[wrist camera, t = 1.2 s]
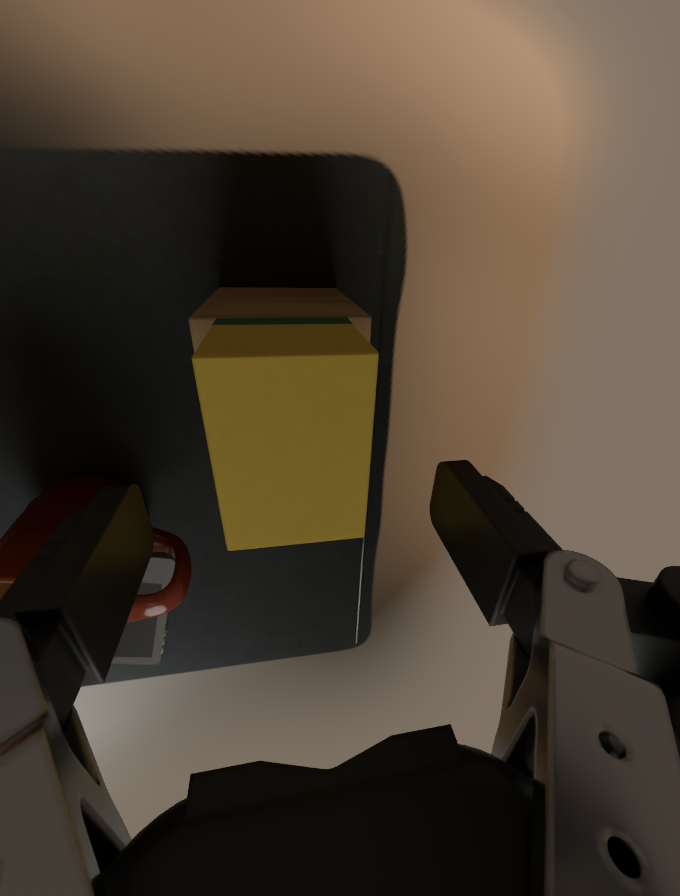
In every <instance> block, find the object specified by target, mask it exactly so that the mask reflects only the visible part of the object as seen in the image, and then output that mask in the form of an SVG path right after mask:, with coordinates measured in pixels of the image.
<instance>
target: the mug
mask: <svg viewBox="0 0 680 896" xmlns="http://www.w3.org/2000/svg"><path fill="white" fill-rule="evenodd" d="M121 484H123V483H121V482H118V481H116V480H113V479H110V478H106V477H102V476H95V475H80V476H73V477H69V478H66V479H63V480H61V481H59V482H57V483H55V484H54V485H53V486H51V487H49V488H48V489H46V490H45V491H43V492H42V493H41V494H40V495H39V496H37V497H36V498H35V499H33V500H32V501H31V502H30V503H29V504H28V506H27V507H26V509H25V510H24V512H23V513H22V514H21V515H20V516H19V517H18V518H17V519H16V521H15V522H14V523H13V524H12V525H11V526H10V528H9V529H8V530H7V531H6V533H5V534H4V535H3V537H2V538H1V539H0V600H1V598H2V597H3V596H4V594H5V593H6V592H7V590H8V589H9V588H10V586H11V585H12V584H13V582H14V581H15V580H16V578H17V577H18V576H19V574H20V573H21V571H22V570H23V569H24V567H25V566H26V565H27V563H28V562H29V561H30V560H32V559H33V555H34V554H35V553H36V551H37V550H38V549H39V547H40V546H41V545H42V544H44V541H45V539H46V538H47V536H48V535H49V534H50V532H51V531H52V530H53V528H54V527H55V526H56V524H57V523H58V522H60V521H61V520H62V519H64V518H65V517H66V516H68V515H69V514H70V513H72V512H73V511H74V510H76V509H77V508H85V507H86V506H87V504H88V503H89V501H90V500H91V498H92V497H93V496H94V494H95V493H96V491H97V490H98V488H99V487H101V486H108V485H121ZM144 503H145V502H144ZM145 506H146V504H145ZM146 509H147V506H146ZM147 512H148V509H147ZM148 516H149V512H148ZM152 528H153V527H152ZM153 533H154V547H153V552H165V553H168V554H170V555H172V556H173V557H174V558H175V566H174V572H173V575H172V578H171V581H170V583H169V584H168V585H167V586H166V587H165V588H163V589H162V590H160V591H158V592H155V593H151V594H137V596H136V598H135V601H134V604H133V607H132V609H131V612H130V615H129V617H128V620H127V623H128V622H136V621H139V620H143V619H148V618H153V617H157V616H160V615H163V614H165V613H167V612H169V611H171V610H172V609H174V608H175V607H176V606H177V605H178V604H179V603H180V602H181V601H182V600H183V598H184V596H185V595H186V593H187V590H188V587H189V583H190V578H191V560H190V556H189V552H188V550H187V547H186V545H185V544H184V542H183V541H182V540H181V539H180V538H179V537H177V536H176V535H174V534H171V533H169V532H166V531H163V530H160V529H157V528H153Z"/></svg>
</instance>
